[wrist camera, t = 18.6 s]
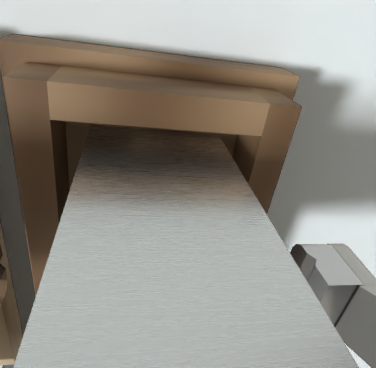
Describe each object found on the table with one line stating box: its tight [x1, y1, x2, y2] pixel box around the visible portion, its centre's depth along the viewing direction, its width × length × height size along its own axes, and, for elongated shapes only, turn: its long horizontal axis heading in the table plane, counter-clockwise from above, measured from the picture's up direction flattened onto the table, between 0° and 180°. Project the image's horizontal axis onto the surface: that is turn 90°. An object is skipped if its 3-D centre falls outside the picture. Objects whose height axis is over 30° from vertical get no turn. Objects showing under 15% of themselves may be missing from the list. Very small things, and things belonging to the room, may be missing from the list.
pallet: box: [0, 34, 302, 297], centre depth 14 cm, size 10×16×4 cm, turn 172°
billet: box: [13, 125, 359, 368], centre depth 8 cm, size 4×5×9 cm
